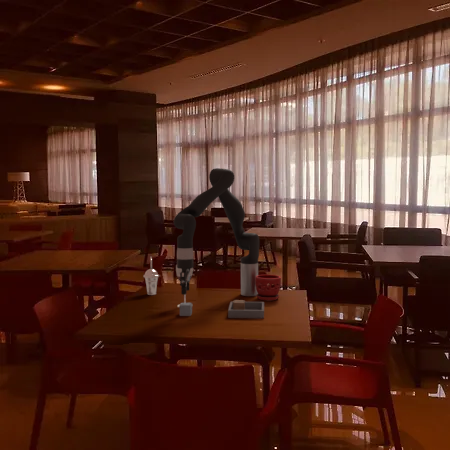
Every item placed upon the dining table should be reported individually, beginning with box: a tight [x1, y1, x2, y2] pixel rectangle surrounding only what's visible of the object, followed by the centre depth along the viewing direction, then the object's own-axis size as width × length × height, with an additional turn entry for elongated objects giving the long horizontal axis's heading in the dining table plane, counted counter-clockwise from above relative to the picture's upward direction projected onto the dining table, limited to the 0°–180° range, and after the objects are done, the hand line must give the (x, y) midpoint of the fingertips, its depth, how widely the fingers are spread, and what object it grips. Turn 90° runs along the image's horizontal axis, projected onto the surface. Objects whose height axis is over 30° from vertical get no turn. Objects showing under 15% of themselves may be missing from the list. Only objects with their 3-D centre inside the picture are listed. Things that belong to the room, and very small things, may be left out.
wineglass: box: [175, 264, 194, 308], centre depth 253 cm, size 8×9×20 cm
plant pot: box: [255, 274, 282, 302], centre depth 265 cm, size 13×13×12 cm
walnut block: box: [232, 299, 246, 310], centre depth 238 cm, size 5×5×5 cm
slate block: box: [179, 302, 193, 317], centre depth 237 cm, size 5×5×5 cm
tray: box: [227, 301, 265, 319], centre depth 238 cm, size 16×16×4 cm
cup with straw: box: [143, 256, 160, 296], centre depth 278 cm, size 8×9×20 cm
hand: (185, 292), depth 236 cm, fingers open, 8 cm apart
